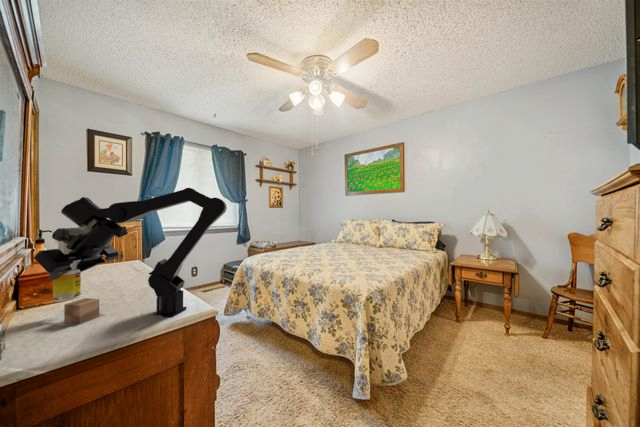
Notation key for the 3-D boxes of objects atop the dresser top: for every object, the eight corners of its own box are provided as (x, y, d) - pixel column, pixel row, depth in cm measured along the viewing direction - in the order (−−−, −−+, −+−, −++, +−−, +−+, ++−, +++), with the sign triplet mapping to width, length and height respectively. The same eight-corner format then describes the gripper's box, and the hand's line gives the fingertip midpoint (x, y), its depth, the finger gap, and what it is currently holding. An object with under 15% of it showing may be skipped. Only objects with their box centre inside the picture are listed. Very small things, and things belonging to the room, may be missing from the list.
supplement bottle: (79, 299, 69) (78, 263, 69) (50, 304, 66) (50, 266, 66) (82, 294, 74) (81, 261, 74) (55, 298, 70) (55, 263, 70)
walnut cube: (99, 316, 70) (99, 299, 70) (79, 323, 65) (79, 305, 65) (84, 315, 71) (84, 298, 71) (64, 322, 66) (64, 304, 66)
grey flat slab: (106, 315, 71) (106, 314, 71) (74, 328, 63) (74, 326, 63) (71, 313, 73) (71, 311, 73) (37, 325, 65) (37, 323, 65)
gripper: (108, 217, 79) (77, 251, 80) (40, 218, 60) (-1, 263, 61) (132, 241, 79) (100, 275, 79) (70, 249, 60) (29, 294, 60)
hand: (62, 276), depth 70 cm, fingers closed on supplement bottle, 5 cm apart
